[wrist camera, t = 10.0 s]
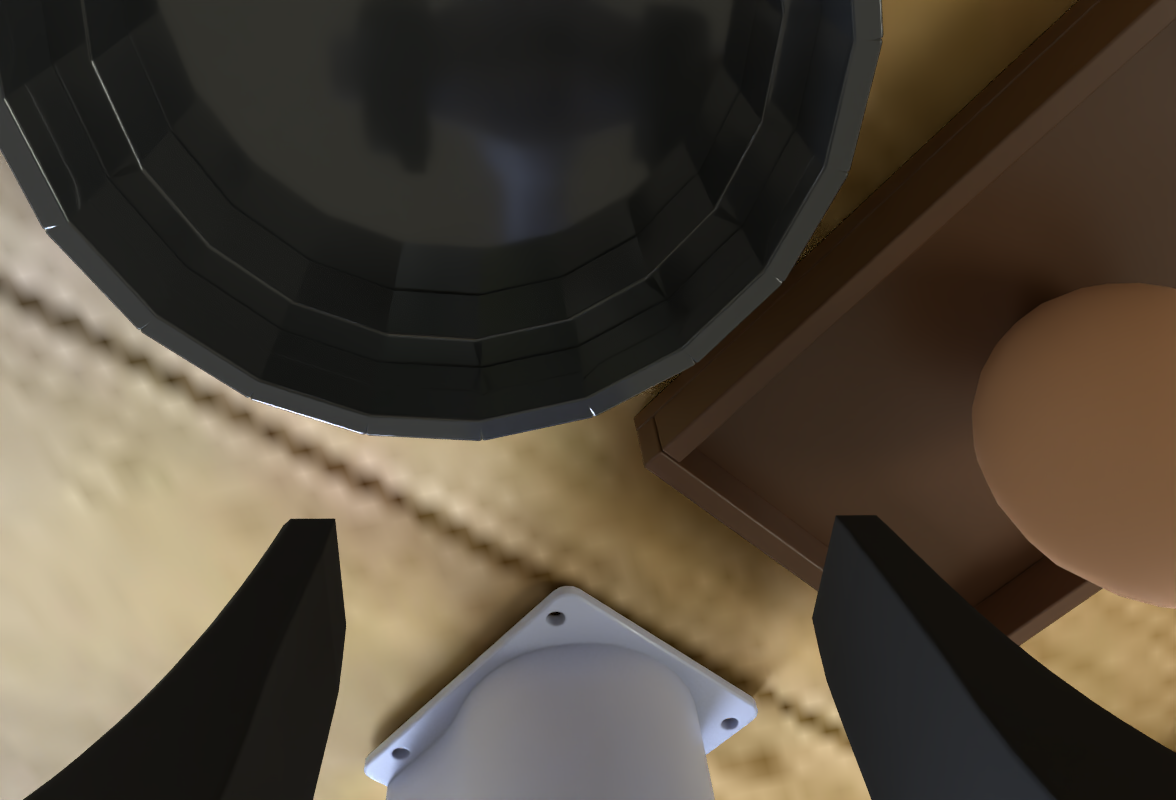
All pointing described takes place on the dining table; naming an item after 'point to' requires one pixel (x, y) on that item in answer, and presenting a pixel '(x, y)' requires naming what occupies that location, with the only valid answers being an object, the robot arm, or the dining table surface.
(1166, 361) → the egg
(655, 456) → the tray
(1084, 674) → the dining table surface
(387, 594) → the dining table surface
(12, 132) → the dark grey mixing bowl
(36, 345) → the dining table surface
